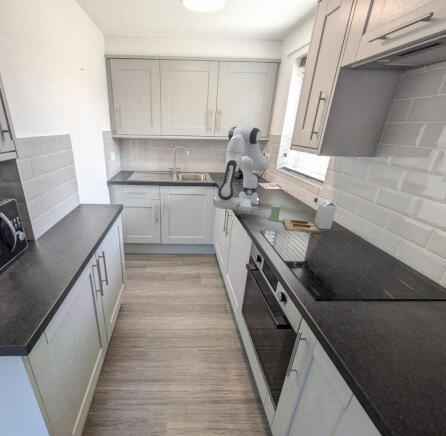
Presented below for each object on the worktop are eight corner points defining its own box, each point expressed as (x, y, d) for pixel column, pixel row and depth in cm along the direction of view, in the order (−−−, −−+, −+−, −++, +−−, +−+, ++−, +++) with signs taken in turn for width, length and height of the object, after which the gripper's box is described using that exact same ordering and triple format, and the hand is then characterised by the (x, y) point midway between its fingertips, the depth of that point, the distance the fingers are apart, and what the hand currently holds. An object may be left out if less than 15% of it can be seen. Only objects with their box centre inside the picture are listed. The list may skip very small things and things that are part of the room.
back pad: (269, 218, 161) (271, 204, 158) (277, 219, 160) (279, 205, 157) (270, 220, 158) (272, 206, 154) (277, 221, 157) (280, 207, 153)
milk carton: (324, 225, 152) (332, 197, 145) (330, 229, 145) (338, 200, 139) (313, 224, 152) (320, 197, 146) (318, 229, 146) (326, 200, 139)
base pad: (282, 220, 158) (283, 216, 157) (311, 224, 154) (312, 219, 153) (286, 229, 143) (287, 225, 142) (318, 233, 139) (319, 228, 138)
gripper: (237, 203, 151) (258, 206, 148) (237, 196, 170) (257, 198, 167) (235, 212, 153) (257, 215, 150) (236, 204, 172) (255, 206, 169)
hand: (257, 206), depth 159 cm, fingers open, 8 cm apart
